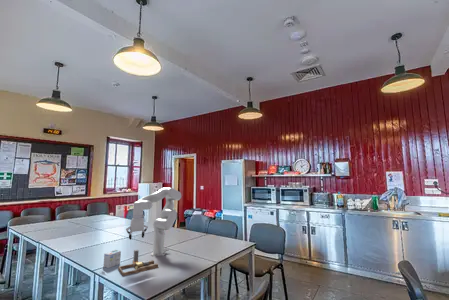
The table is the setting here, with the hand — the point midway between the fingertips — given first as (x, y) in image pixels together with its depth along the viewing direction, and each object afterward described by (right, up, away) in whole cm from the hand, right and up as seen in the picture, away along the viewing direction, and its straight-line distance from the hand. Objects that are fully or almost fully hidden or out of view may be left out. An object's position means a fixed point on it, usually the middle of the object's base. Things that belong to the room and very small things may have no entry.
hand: (136, 238), depth 183 cm
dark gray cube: (+11, -18, -10) cm, 23 cm away
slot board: (+6, -19, -13) cm, 24 cm away
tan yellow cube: (+7, -18, -13) cm, 23 cm away
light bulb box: (-17, -20, -7) cm, 27 cm away
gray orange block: (0, -20, -3) cm, 20 cm away
